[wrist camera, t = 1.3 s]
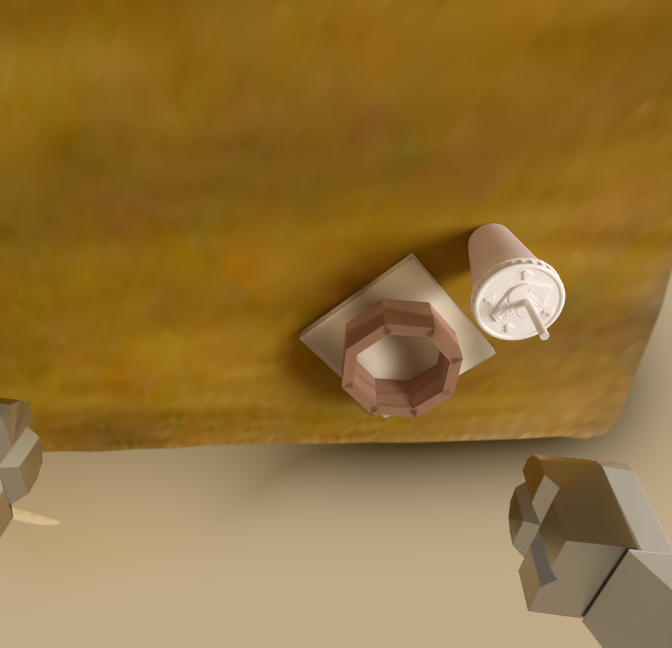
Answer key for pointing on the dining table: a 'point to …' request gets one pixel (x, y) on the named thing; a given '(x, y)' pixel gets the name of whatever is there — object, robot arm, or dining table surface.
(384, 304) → the bottle stand
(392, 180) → the dining table surface
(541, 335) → the smoothie
